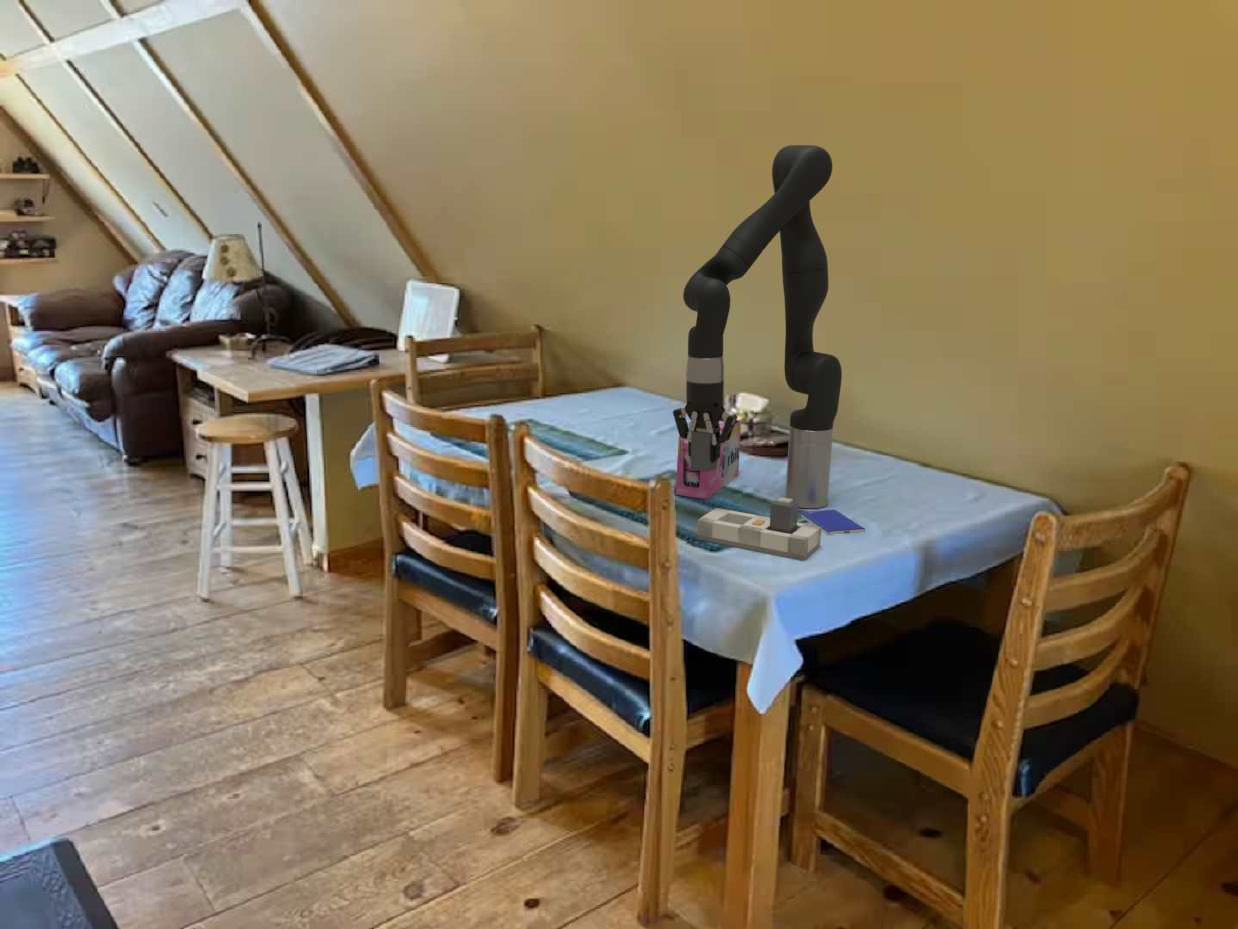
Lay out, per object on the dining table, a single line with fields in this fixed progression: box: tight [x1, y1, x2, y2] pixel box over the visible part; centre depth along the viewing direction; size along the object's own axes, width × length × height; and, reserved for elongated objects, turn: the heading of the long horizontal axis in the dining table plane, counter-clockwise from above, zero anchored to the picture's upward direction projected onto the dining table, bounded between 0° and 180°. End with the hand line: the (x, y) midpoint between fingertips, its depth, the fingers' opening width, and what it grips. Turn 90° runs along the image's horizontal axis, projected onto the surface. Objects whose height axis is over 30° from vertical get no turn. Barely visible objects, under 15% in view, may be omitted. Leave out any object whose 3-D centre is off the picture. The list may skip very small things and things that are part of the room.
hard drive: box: [800, 509, 866, 537], centre depth 204 cm, size 2×8×12 cm
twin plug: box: [769, 497, 799, 534], centre depth 189 cm, size 4×4×9 cm
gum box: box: [675, 418, 742, 500], centre depth 229 cm, size 24×8×14 cm, turn 156°
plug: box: [691, 427, 717, 472], centre depth 203 cm, size 4×4×9 cm
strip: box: [696, 507, 822, 561], centre depth 192 cm, size 22×9×4 cm, turn 60°
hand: (703, 459), depth 204 cm, fingers closed on plug, 4 cm apart
